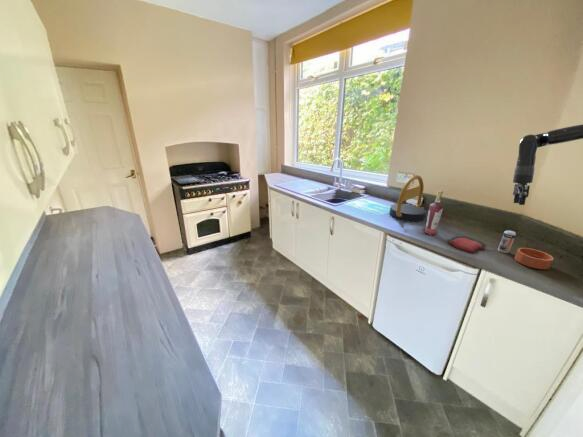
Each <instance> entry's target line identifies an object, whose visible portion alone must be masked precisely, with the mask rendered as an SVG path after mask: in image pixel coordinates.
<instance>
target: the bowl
mask: <svg viewBox="0 0 583 437" xmlns="http://www.w3.org/2000/svg"><path fill="white" fill-rule="evenodd" d="M514 260H515V261H516V262H518V263H519V264H521V265H523V266H526V267H528V268H531V269H536V270H549V269H550V268H551V266H552V263H553V262H554V257H553V256H552V255H551V254H549V253H547V252H544V251H542V250H539V249H535V248H530V247H518V248H517V250H516V253H515V255H514Z"/></svg>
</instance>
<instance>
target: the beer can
mask: <svg viewBox="0 0 583 437" xmlns="http://www.w3.org/2000/svg"><path fill="white" fill-rule="evenodd" d="M516 235H517V234H516V231H513V230H509V229H507V230H505V231H503V234H502V237H501V240H500V242H499V244H498V247H497V251H498V252H500V253H502V254H509V253H510V250H511V248H512V246H513V243H514V240H515V239H516Z"/></svg>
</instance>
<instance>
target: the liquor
mask: <svg viewBox="0 0 583 437" xmlns="http://www.w3.org/2000/svg"><path fill="white" fill-rule="evenodd" d="M443 192H444V191H443V190H440V189H439V190H437V192H436V197H435V200H434V202H432V203H430V204H429V208H428V211H427V218H426V222H425V223H426V224H425V227H424V228H425V229H424V230H423V231H424V233H425V234H426V233H427V234H426V235H429V234H431V235H430V236H434V235H436V234H437V229H438V226H439V222H440V220H441V216H442V213H443V210H444V207H445V206H444V205H443V204H442V203H441V200H442V195H443Z"/></svg>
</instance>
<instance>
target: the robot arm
mask: <svg viewBox="0 0 583 437" xmlns="http://www.w3.org/2000/svg"><path fill="white" fill-rule="evenodd" d="M578 140H583V124H577V125H571V126H566V127H562V128H557V129H552V130H548V131H547V132H543V133H538V134H527V135H524V136H522V137H521V139H520V140H519V144H518V156H517V159H516V164H515V168H514V173H513V179H512V183H513V184H514V187H513V192H512V195H513V204H518V206H524V205H526V200H527V198H528V197H529V195H530V194H529V193H530V188H531V186H530V185H528V184H532V183H533V182H534V180H533V179H534V175H535V165H536V158H537V150H538V148H543V147H545V146H551V145H558V144H563V143H569V142H573V141H578Z"/></svg>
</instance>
